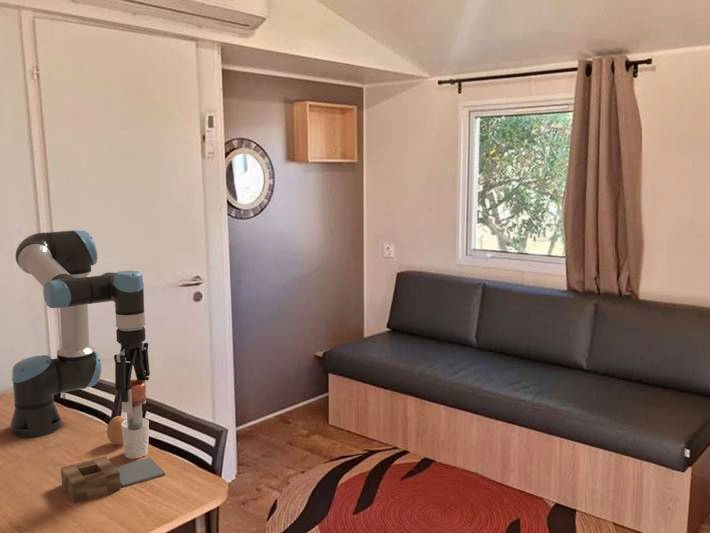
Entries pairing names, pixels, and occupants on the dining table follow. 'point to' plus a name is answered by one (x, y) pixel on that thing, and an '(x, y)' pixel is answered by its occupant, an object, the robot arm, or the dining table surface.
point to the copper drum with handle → (136, 404)
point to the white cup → (135, 440)
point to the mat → (139, 471)
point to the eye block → (90, 479)
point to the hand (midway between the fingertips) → (134, 407)
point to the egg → (115, 430)
